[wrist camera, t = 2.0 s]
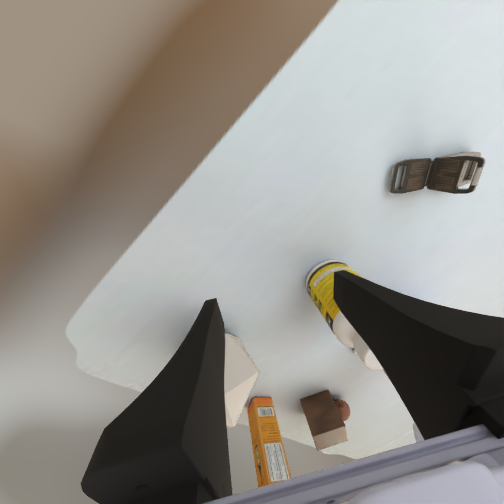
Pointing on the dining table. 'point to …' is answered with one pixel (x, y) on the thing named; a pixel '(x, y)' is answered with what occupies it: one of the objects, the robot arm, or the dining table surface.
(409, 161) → the strap clip
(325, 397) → the walnut block
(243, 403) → the die
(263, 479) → the supplement box
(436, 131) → the dining table surface
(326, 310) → the supplement bottle
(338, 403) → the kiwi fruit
